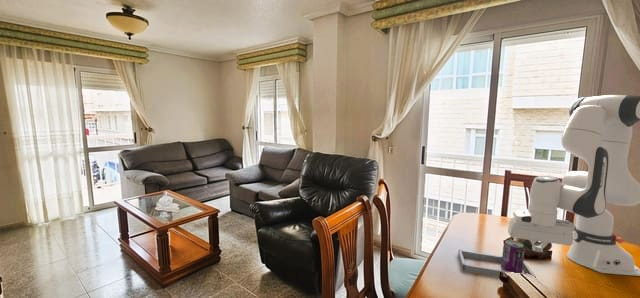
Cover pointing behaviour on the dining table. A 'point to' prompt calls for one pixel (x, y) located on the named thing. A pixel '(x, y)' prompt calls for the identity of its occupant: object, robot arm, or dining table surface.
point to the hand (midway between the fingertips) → (537, 250)
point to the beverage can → (513, 256)
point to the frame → (489, 258)
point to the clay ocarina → (528, 248)
